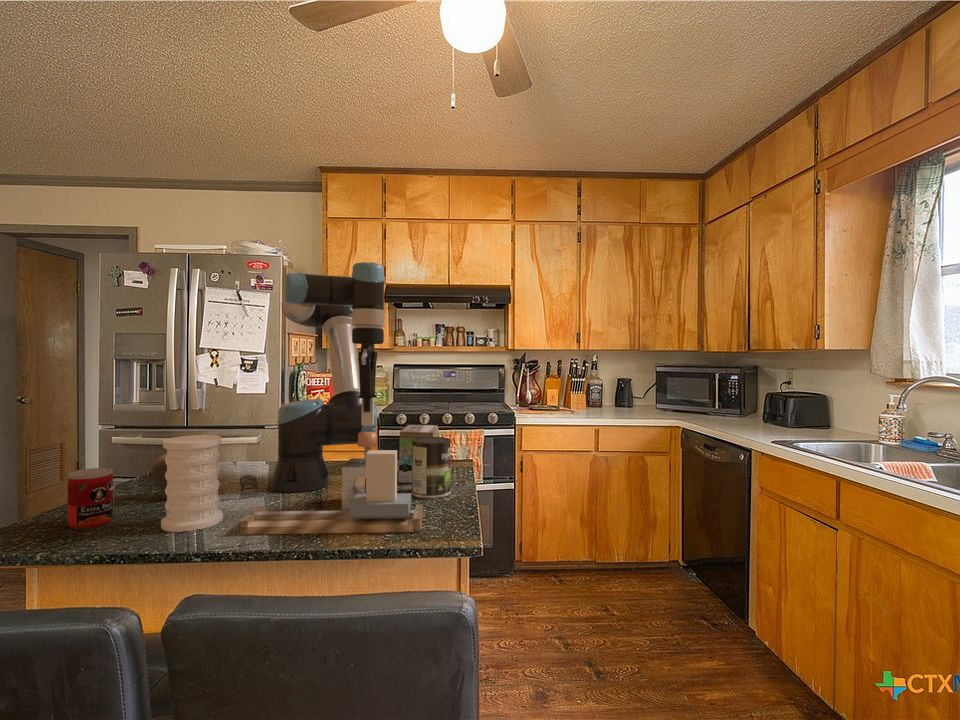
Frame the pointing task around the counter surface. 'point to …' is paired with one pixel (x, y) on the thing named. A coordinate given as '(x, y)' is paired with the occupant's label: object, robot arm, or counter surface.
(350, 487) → the box with ball knob
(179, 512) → the decorative container
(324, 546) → the counter surface
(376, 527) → the rail track
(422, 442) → the coffee can
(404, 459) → the tea box
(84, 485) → the canned food
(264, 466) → the counter surface
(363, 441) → the plunger
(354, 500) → the carriage
